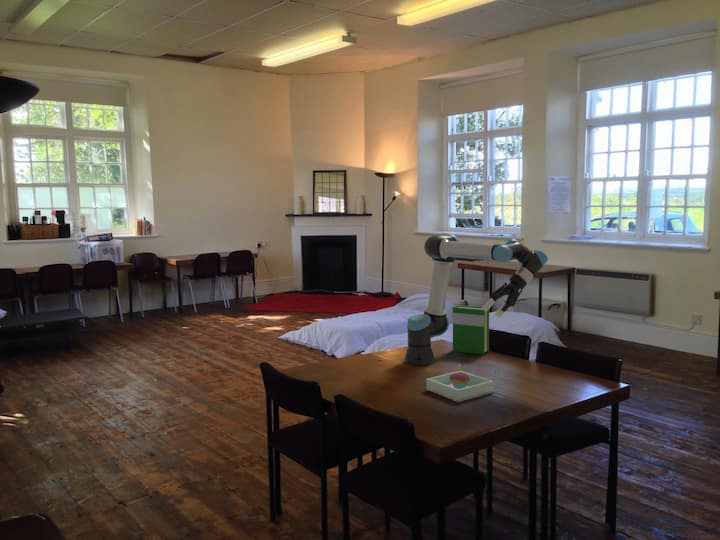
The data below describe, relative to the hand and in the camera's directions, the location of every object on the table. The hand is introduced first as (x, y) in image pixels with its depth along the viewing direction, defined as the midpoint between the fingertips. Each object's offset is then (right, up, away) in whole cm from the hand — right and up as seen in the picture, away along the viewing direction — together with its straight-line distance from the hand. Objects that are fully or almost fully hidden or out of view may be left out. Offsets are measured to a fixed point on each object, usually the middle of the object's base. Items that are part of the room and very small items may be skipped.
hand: (490, 313), depth 277 cm
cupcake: (-17, -32, -16) cm, 39 cm away
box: (-17, -32, -16) cm, 40 cm away
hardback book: (0, -24, +51) cm, 56 cm away
